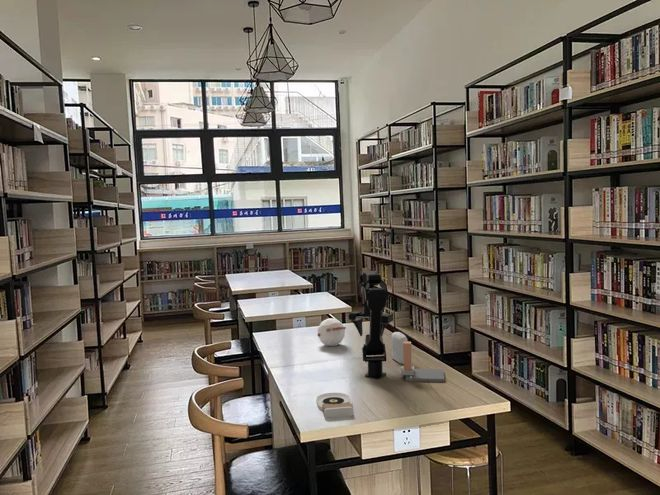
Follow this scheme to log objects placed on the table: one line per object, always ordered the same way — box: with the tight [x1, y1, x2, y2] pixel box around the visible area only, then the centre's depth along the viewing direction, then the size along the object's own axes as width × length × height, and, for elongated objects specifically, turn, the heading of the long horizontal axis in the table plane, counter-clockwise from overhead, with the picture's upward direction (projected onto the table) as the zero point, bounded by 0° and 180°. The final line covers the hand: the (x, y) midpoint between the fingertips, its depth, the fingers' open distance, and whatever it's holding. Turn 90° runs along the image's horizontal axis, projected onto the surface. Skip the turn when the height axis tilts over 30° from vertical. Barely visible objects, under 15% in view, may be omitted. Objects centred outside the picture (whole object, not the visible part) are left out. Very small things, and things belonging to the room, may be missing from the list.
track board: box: [405, 368, 445, 383], centre depth 208 cm, size 14×12×1 cm
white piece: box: [317, 317, 346, 347], centre depth 261 cm, size 14×25×14 cm, turn 16°
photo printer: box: [390, 331, 409, 365], centre depth 230 cm, size 10×4×12 cm, turn 17°
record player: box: [315, 392, 354, 419], centre depth 181 cm, size 12×3×20 cm
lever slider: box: [400, 341, 415, 376], centre depth 209 cm, size 5×7×12 cm
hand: (371, 337), depth 225 cm, fingers open, 9 cm apart
